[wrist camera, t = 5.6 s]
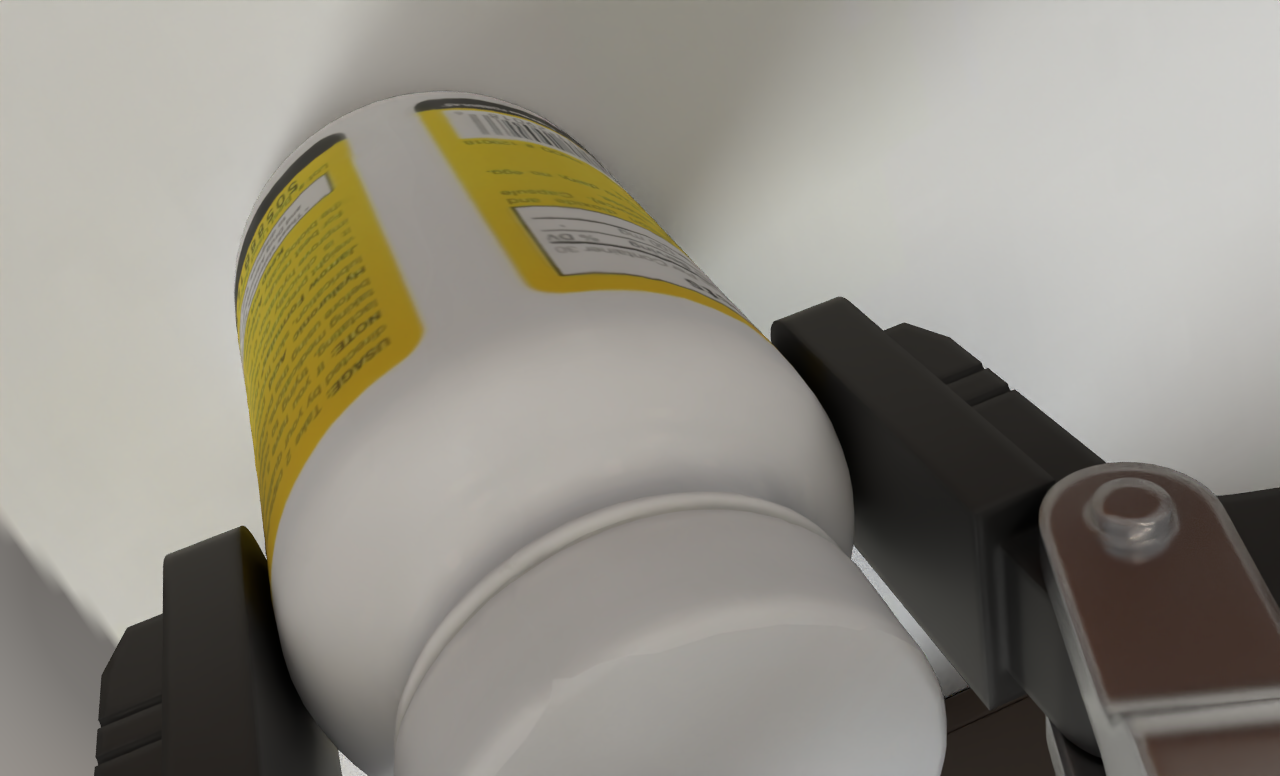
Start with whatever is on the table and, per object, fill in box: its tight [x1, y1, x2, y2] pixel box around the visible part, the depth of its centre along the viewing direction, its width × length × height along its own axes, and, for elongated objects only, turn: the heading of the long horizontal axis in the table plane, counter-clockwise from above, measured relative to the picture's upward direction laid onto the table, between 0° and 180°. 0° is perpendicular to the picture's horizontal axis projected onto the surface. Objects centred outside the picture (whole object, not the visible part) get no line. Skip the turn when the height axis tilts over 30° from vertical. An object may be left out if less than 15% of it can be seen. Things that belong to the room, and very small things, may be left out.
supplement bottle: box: [234, 91, 947, 776], centre depth 12 cm, size 5×5×10 cm
